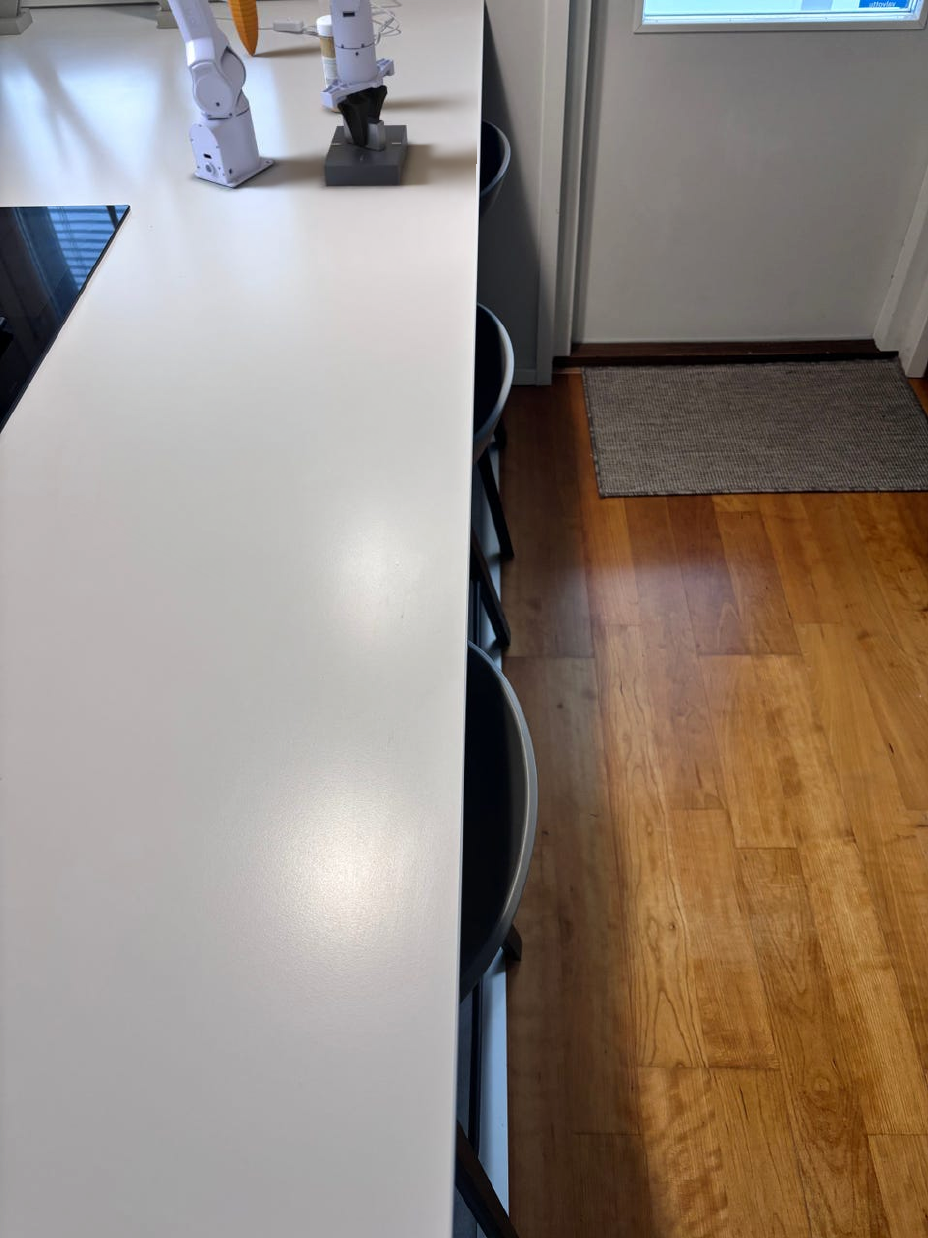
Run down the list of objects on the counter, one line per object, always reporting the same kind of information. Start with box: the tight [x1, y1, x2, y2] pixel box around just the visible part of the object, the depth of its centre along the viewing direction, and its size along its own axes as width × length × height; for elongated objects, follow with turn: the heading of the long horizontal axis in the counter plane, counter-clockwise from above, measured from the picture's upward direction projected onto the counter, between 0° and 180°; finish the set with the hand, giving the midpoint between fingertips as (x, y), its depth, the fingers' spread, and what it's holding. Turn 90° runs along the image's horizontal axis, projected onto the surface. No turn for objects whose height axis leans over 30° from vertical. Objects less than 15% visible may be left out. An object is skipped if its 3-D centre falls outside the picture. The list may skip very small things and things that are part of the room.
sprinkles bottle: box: [316, 14, 341, 114], centre depth 156 cm, size 5×5×13 cm
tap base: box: [322, 124, 409, 187], centre depth 145 cm, size 14×11×3 cm
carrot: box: [227, 0, 259, 57], centre depth 173 cm, size 5×5×15 cm
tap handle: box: [342, 116, 386, 151], centre depth 143 cm, size 6×2×4 cm, turn 56°
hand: (365, 141), depth 144 cm, fingers closed on tap handle, 2 cm apart
